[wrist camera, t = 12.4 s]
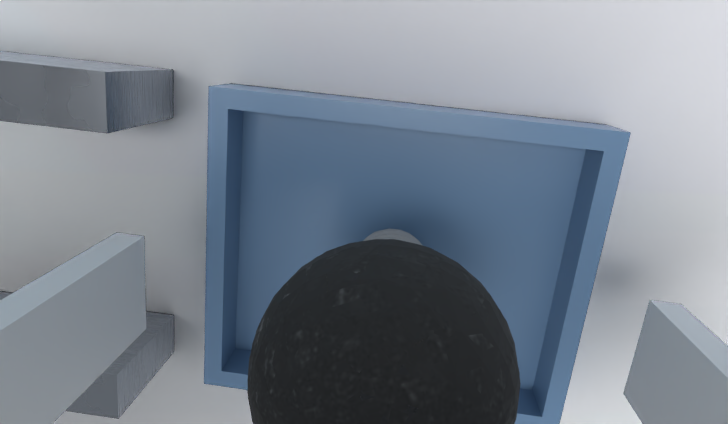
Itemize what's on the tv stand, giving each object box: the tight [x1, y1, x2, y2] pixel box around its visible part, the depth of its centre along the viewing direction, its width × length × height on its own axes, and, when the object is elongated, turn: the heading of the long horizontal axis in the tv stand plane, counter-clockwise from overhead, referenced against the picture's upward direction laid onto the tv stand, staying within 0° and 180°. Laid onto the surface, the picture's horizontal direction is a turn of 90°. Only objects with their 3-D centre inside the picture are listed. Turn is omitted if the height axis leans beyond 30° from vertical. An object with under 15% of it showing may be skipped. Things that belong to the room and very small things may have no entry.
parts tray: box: [204, 83, 630, 424], centre depth 17 cm, size 12×10×2 cm
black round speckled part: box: [247, 228, 521, 424], centre depth 13 cm, size 6×6×10 cm
